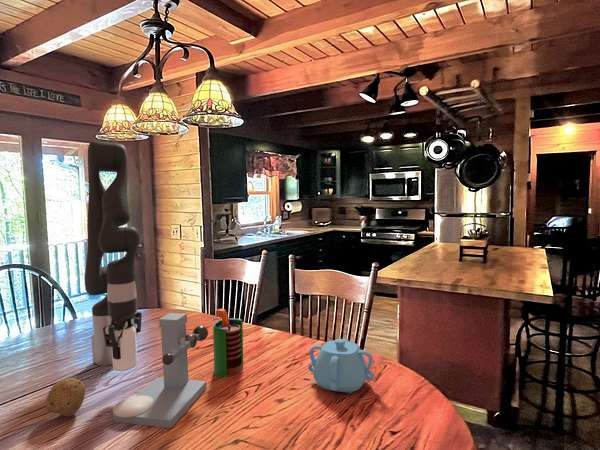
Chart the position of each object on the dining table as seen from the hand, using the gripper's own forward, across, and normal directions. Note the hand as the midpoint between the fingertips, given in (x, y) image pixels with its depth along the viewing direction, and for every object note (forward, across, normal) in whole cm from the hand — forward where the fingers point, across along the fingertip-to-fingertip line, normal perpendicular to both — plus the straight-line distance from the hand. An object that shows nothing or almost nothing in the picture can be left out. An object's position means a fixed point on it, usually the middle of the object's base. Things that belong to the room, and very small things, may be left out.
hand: (124, 353), depth 112 cm
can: (+4, 0, 0) cm, 4 cm away
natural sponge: (+12, +13, -8) cm, 20 cm away
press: (+12, +4, +13) cm, 18 cm away
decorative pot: (+11, -17, +61) cm, 64 cm away
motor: (+12, -19, +24) cm, 33 cm away
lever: (-2, 0, +19) cm, 20 cm away
